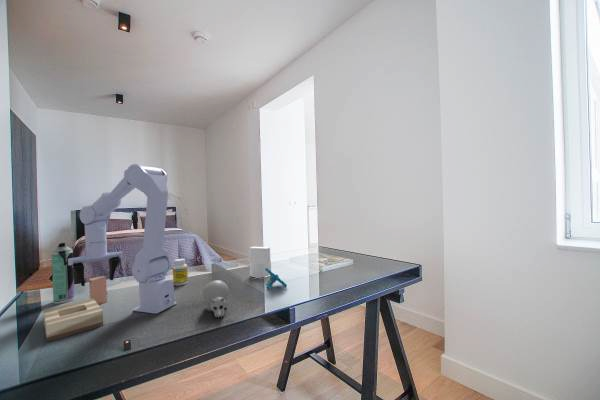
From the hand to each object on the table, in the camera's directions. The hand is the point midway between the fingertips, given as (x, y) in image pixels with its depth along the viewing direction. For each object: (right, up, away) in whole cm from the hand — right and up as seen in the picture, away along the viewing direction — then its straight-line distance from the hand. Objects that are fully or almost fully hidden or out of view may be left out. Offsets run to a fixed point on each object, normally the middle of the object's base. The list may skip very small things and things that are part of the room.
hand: (97, 282), depth 89 cm
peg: (0, -7, 0) cm, 7 cm away
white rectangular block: (+51, -5, +25) cm, 57 cm away
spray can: (-14, -7, +3) cm, 16 cm away
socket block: (+6, -6, -17) cm, 19 cm away
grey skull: (+44, -5, -12) cm, 46 cm away
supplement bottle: (+20, -6, +18) cm, 27 cm away
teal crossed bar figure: (+59, -5, +8) cm, 60 cm away
